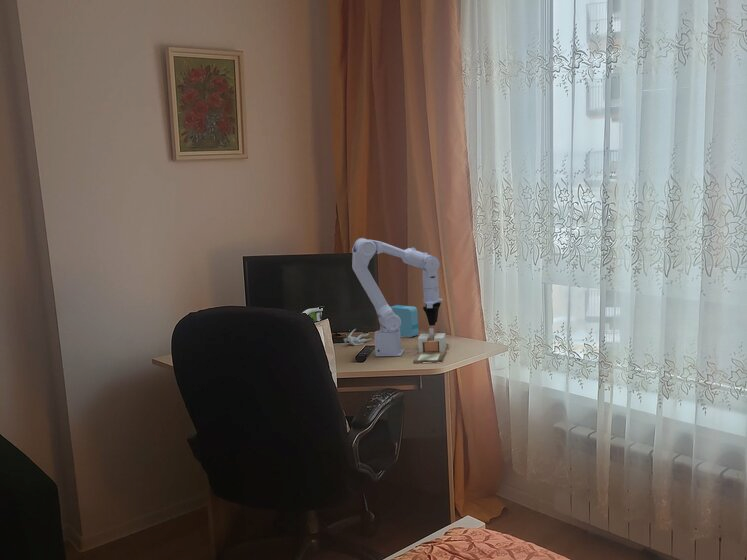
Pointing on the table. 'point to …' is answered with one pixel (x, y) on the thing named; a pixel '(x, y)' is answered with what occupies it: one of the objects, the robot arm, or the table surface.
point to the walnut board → (430, 356)
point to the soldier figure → (356, 339)
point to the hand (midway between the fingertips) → (433, 323)
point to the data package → (407, 320)
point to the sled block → (431, 342)
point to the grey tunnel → (438, 337)
